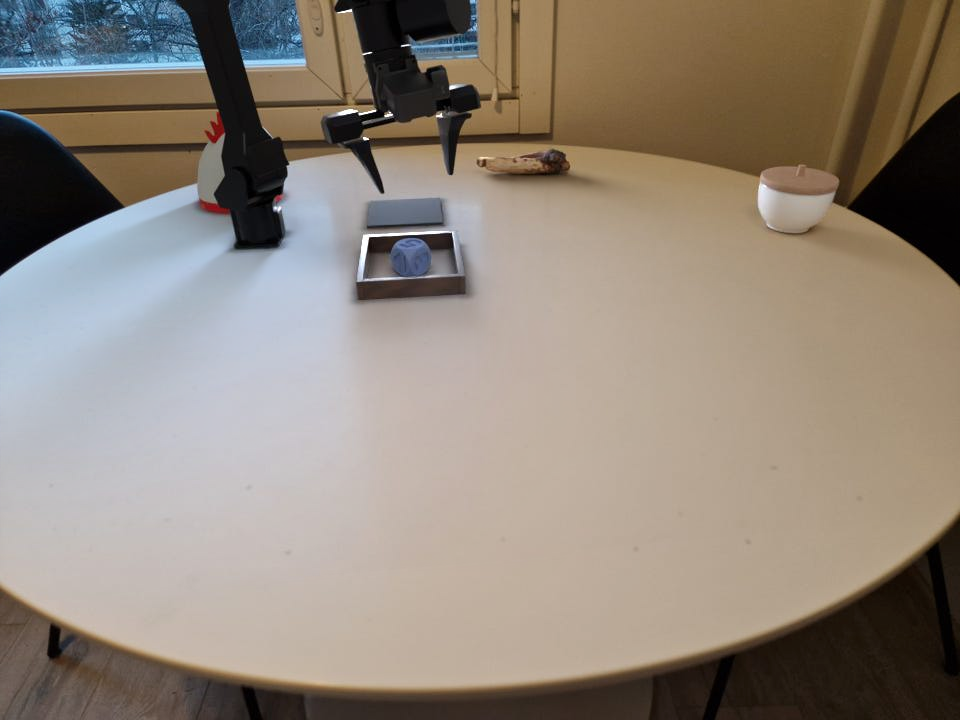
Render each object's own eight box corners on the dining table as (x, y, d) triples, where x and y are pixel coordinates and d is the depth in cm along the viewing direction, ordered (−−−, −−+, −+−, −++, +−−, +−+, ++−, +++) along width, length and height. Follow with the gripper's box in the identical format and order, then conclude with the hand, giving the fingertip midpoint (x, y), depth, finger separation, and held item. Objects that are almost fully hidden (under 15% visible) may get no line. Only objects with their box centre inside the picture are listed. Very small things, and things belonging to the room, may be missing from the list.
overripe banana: (568, 166, 130) (479, 163, 132) (570, 142, 128) (479, 139, 129) (570, 179, 122) (475, 176, 124) (572, 153, 120) (475, 150, 121)
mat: (367, 228, 102) (366, 225, 102) (370, 203, 112) (370, 200, 112) (443, 224, 103) (442, 222, 103) (439, 199, 113) (439, 197, 113)
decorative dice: (391, 271, 88) (388, 244, 86) (413, 262, 91) (411, 235, 89) (411, 280, 86) (408, 252, 84) (432, 270, 89) (431, 242, 86)
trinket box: (748, 234, 98) (762, 172, 93) (752, 210, 106) (764, 152, 101) (826, 243, 94) (845, 179, 89) (824, 218, 103) (840, 158, 98)
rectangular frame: (358, 299, 82) (355, 282, 80) (365, 251, 95) (363, 235, 93) (465, 293, 82) (465, 276, 81) (458, 246, 96) (457, 230, 94)
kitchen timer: (298, 195, 117) (283, 107, 109) (237, 218, 107) (215, 124, 99) (246, 183, 123) (228, 100, 115) (183, 204, 113) (159, 115, 105)
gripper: (318, 65, 65) (359, 215, 73) (486, 29, 70) (509, 174, 77) (303, 66, 75) (341, 199, 82) (452, 34, 79) (475, 162, 87)
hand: (417, 183), depth 82 cm, fingers open, 9 cm apart
